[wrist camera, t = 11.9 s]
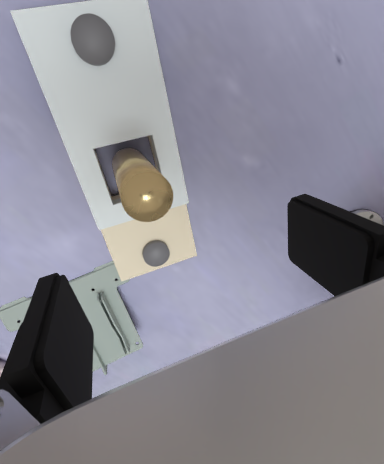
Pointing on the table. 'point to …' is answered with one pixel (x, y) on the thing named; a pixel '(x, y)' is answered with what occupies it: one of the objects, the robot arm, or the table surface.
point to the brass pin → (141, 186)
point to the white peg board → (111, 116)
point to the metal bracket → (93, 315)
